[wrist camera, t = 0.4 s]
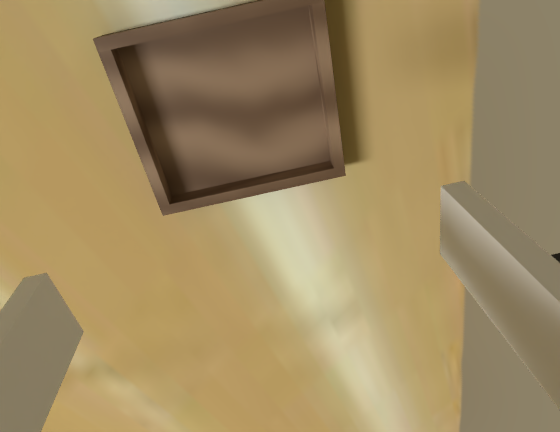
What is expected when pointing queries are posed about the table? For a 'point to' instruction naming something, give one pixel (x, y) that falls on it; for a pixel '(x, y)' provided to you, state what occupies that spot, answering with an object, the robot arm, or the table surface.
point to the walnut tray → (229, 101)
